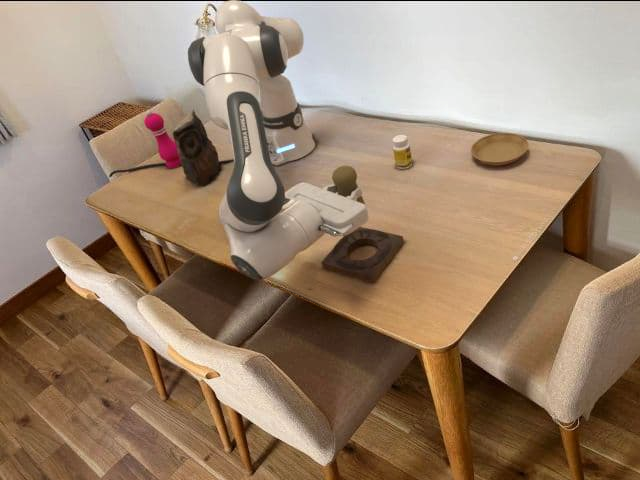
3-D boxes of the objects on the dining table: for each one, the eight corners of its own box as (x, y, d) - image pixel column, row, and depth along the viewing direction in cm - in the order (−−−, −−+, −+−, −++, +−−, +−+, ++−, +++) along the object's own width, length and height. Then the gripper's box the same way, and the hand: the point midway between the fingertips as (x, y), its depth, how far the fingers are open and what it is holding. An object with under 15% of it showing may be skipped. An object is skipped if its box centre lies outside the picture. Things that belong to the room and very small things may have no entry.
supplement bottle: (411, 168, 139) (407, 142, 134) (395, 170, 141) (389, 143, 135) (413, 159, 143) (409, 133, 137) (397, 160, 144) (392, 134, 139)
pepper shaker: (340, 207, 114) (327, 165, 106) (366, 201, 113) (355, 159, 106) (341, 223, 109) (329, 180, 102) (368, 216, 109) (357, 173, 101)
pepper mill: (190, 158, 175) (163, 104, 162) (177, 169, 171) (148, 115, 158) (175, 157, 178) (147, 104, 165) (162, 168, 174) (132, 115, 161)
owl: (221, 161, 168) (195, 105, 155) (231, 175, 159) (205, 117, 146) (185, 176, 166) (157, 121, 152) (194, 192, 157) (164, 135, 143)
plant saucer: (460, 159, 137) (459, 151, 136) (496, 135, 142) (496, 127, 141) (502, 176, 127) (502, 168, 126) (540, 150, 132) (540, 141, 131)
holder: (322, 268, 117) (320, 262, 115) (354, 230, 124) (352, 224, 123) (374, 283, 109) (372, 276, 108) (404, 242, 117) (403, 235, 116)
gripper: (335, 225, 93) (383, 186, 99) (269, 197, 105) (315, 164, 112) (343, 251, 97) (389, 212, 103) (278, 220, 110) (322, 187, 116)
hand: (350, 187), depth 108 cm, fingers closed on pepper shaker, 4 cm apart
